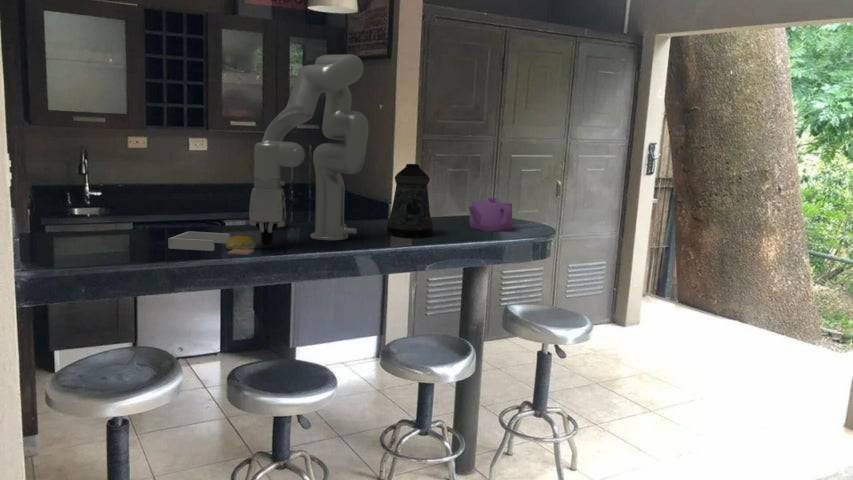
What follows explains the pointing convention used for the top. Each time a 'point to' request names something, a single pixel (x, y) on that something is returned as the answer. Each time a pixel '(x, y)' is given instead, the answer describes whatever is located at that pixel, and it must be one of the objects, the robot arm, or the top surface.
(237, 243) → the bread roll
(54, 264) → the top surface
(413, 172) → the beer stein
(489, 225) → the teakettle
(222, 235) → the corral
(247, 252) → the tile
